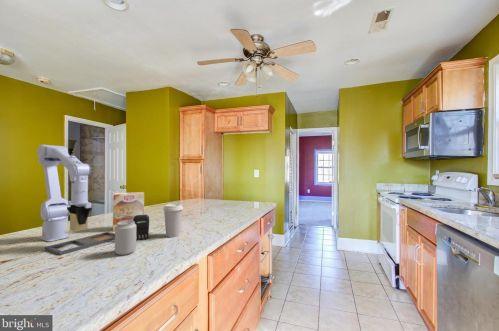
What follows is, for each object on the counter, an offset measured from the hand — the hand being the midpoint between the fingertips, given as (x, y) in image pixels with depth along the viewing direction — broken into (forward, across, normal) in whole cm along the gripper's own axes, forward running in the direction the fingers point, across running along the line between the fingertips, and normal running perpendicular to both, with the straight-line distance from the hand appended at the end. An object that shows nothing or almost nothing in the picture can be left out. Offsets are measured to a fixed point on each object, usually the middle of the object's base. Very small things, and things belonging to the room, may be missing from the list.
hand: (79, 223), depth 99 cm
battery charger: (+10, +16, +18) cm, 26 cm away
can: (+10, +25, +4) cm, 27 cm away
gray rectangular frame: (+9, 0, +3) cm, 10 cm away
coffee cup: (+10, +24, +30) cm, 40 cm away
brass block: (+2, 0, 0) cm, 3 cm away
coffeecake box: (+10, -7, +28) cm, 31 cm away
